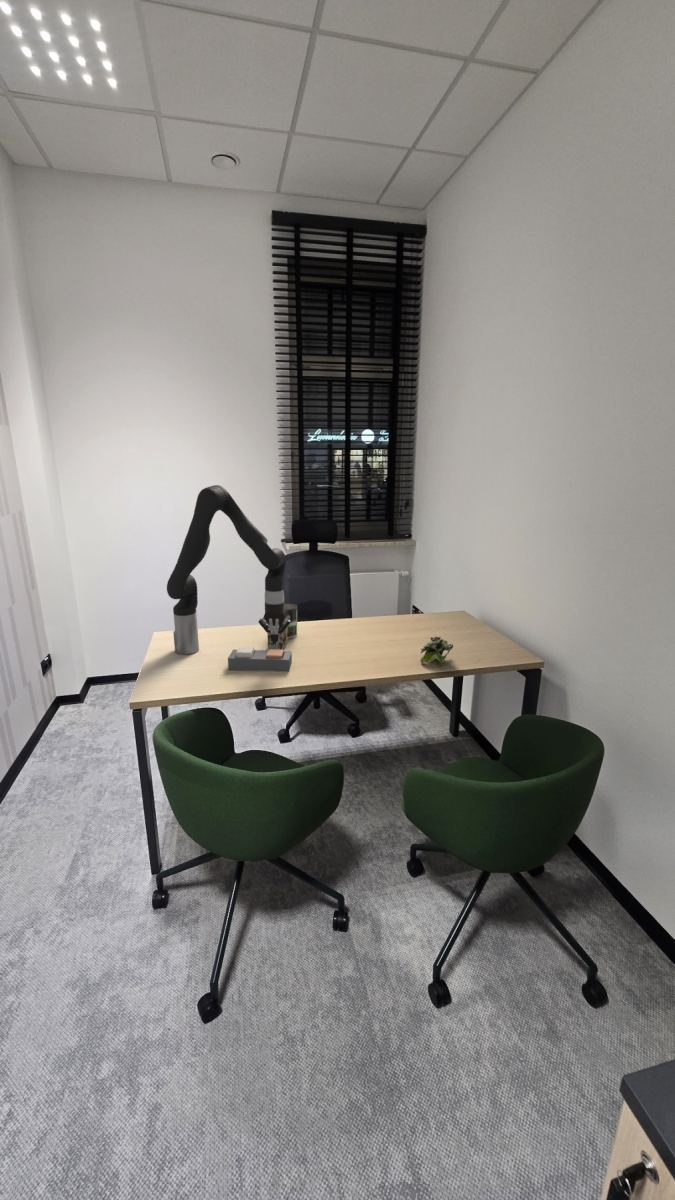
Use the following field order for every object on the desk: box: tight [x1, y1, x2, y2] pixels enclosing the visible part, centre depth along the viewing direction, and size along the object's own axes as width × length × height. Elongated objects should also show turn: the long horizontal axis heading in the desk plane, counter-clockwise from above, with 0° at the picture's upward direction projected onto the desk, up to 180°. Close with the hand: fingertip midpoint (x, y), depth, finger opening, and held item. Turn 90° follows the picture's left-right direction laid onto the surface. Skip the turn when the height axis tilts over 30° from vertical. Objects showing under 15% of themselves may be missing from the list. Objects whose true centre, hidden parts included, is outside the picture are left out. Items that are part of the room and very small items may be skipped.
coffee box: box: [266, 610, 288, 650], centre depth 211 cm, size 9×6×16 cm
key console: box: [227, 649, 293, 672], centre depth 193 cm, size 24×9×5 cm, turn 89°
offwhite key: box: [236, 646, 255, 658], centre depth 192 cm, size 6×6×3 cm
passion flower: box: [420, 636, 454, 666], centre depth 199 cm, size 13×12×14 cm
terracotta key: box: [267, 649, 285, 659], centre depth 193 cm, size 6×6×3 cm
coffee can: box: [284, 602, 298, 639], centre depth 226 cm, size 10×10×14 cm
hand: (274, 642), depth 191 cm, fingers closed
